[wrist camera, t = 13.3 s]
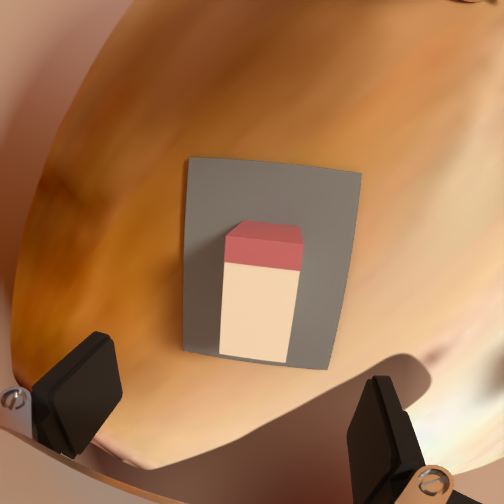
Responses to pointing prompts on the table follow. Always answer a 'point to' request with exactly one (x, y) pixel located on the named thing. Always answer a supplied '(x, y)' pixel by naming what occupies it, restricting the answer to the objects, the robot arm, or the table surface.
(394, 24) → the table surface
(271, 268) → the card box
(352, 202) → the mat
